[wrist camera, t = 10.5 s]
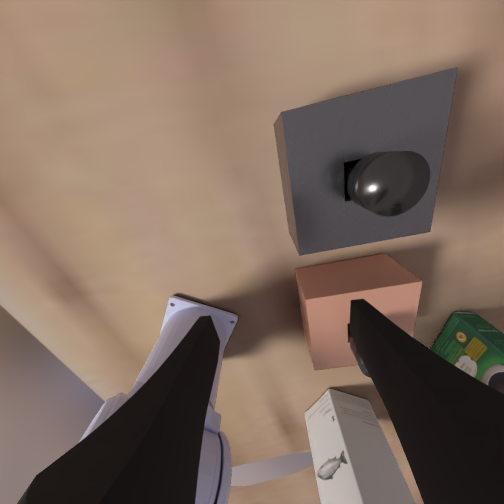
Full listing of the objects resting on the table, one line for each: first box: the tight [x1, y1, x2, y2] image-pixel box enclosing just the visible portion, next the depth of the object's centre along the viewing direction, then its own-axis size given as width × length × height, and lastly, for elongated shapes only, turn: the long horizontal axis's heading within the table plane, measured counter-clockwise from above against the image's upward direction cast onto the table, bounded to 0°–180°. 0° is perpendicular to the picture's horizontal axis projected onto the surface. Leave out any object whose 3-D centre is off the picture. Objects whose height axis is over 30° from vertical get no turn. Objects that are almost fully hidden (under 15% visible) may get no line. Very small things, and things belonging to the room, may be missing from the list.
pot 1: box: [274, 67, 458, 256], centre depth 15 cm, size 9×9×5 cm
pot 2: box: [295, 253, 422, 370], centre depth 20 cm, size 9×9×5 cm
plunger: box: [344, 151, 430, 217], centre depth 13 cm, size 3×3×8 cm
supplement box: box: [305, 388, 416, 504], centre depth 26 cm, size 7×7×13 cm
